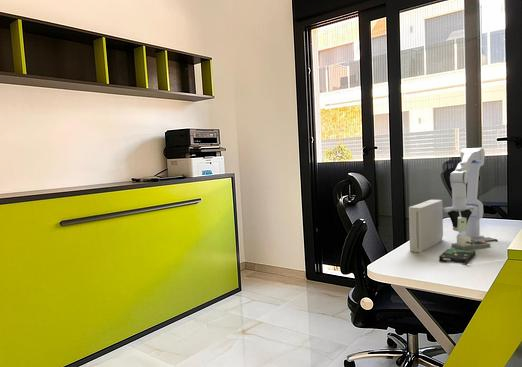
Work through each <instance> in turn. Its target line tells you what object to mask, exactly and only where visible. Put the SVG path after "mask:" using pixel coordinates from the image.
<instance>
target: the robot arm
mask: <svg viewBox="0 0 522 367" xmlns="http://www.w3.org/2000/svg"><path fill="white" fill-rule="evenodd" d="M485 154H486V153H485V149H484V147H472V148H471V147H470V148H465V147H464V148H461V150H460V159H461V161H460V162H459V163H457V165H456V167H455V169H454V171H452V172H450V174H449V175H450V176H449V182H450V187H451V197H452V198H451V200H452V202H451V203H452V204H451V206H446V207H442V208H443V213H447V215H448V217H449V218H450V221H451V224H452V228H453V227H457V219H458V217H464V218H466V224H467V231H461V232H458V233H457V236H463V235H465V236H469V237H471V239H475V238H485V235H482V234H480V233H481V232H480V223H481V222H480V220H482V218H483V216H484V204H483V202H481V200H479V199H478V192H479V190H478V189H479V178H480V175H479V174H480V169H481V167H482V166H484V165H485V164H484V163H485Z"/></svg>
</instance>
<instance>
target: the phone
mask: <svg viewBox="0 0 522 367" xmlns="http://www.w3.org/2000/svg"><path fill="white" fill-rule="evenodd" d="M478 240H479V241H485V242H486V243H489V242H491V243H492V242H497V243H498V241H499V240H498V239H497V238H493V237H490V236H488V237H476V238H471V241H478Z"/></svg>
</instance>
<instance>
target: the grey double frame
mask: <svg viewBox="0 0 522 367" xmlns="http://www.w3.org/2000/svg"><path fill="white" fill-rule="evenodd" d="M471 243H473V244H471V246H460V245H457V242H454V243H451V248H452V249H459V250H471V251H472V250H478V249H479V250H480V249H486V248H491V243H489V242H485V241H479V240H478V241H471Z"/></svg>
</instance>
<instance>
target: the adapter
mask: <svg viewBox="0 0 522 367" xmlns="http://www.w3.org/2000/svg"><path fill="white" fill-rule="evenodd" d="M471 239H472V238H471V237H469V236H465V235H463V236H460V235H457V236H456V243H457V245H460V246H471V244H473V243H471Z"/></svg>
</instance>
